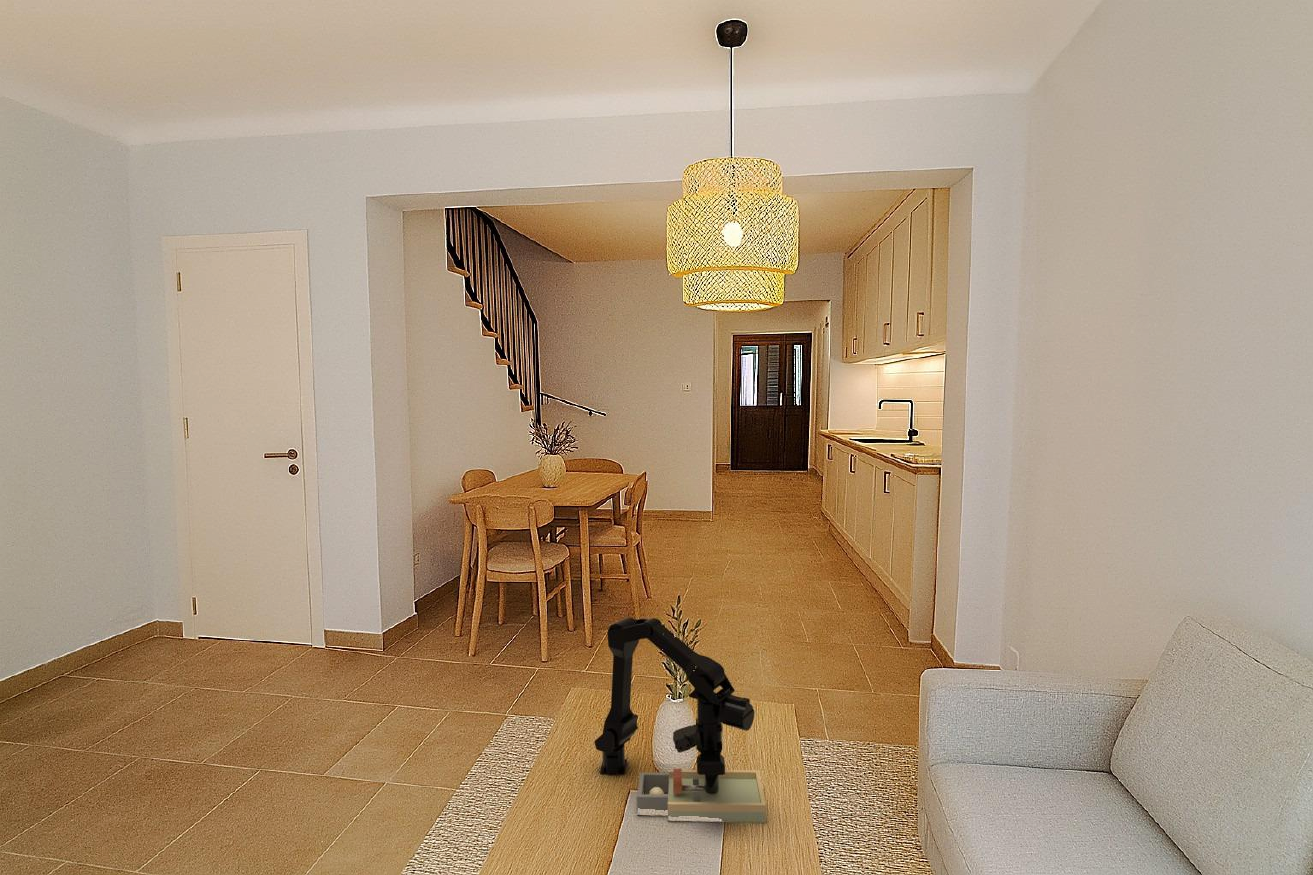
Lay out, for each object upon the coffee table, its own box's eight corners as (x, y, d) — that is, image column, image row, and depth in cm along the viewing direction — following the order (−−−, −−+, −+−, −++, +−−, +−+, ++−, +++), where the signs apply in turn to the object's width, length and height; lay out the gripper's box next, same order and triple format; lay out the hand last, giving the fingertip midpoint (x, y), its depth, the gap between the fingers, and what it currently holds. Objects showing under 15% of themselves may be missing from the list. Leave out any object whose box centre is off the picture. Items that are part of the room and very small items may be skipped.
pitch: (669, 785, 168) (669, 768, 168) (759, 786, 167) (759, 769, 167) (667, 821, 154) (667, 803, 154) (765, 822, 153) (765, 804, 153)
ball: (658, 780, 163) (667, 792, 163) (646, 789, 163) (655, 801, 163) (657, 789, 159) (666, 801, 160) (645, 798, 160) (654, 810, 160)
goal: (640, 790, 167) (640, 772, 166) (669, 790, 166) (668, 772, 166) (637, 815, 157) (637, 796, 156) (668, 815, 156) (667, 797, 156)
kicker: (673, 785, 163) (673, 757, 162) (718, 786, 162) (718, 758, 162) (673, 794, 159) (673, 766, 159) (719, 795, 159) (718, 766, 158)
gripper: (675, 699, 169) (676, 760, 170) (674, 738, 151) (674, 806, 152) (720, 700, 169) (721, 761, 170) (725, 738, 150) (725, 806, 151)
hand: (709, 782), depth 161 cm, fingers closed on kicker, 3 cm apart
